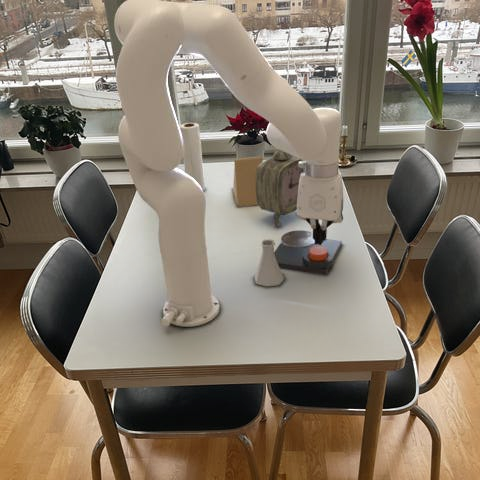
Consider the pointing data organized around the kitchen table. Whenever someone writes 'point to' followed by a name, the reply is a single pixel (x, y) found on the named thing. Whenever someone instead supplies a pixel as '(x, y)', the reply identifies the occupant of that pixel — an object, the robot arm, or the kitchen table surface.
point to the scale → (307, 257)
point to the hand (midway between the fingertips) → (319, 242)
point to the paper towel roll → (192, 152)
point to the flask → (268, 266)
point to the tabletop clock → (278, 184)
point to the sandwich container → (245, 181)
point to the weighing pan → (298, 239)
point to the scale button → (318, 253)
